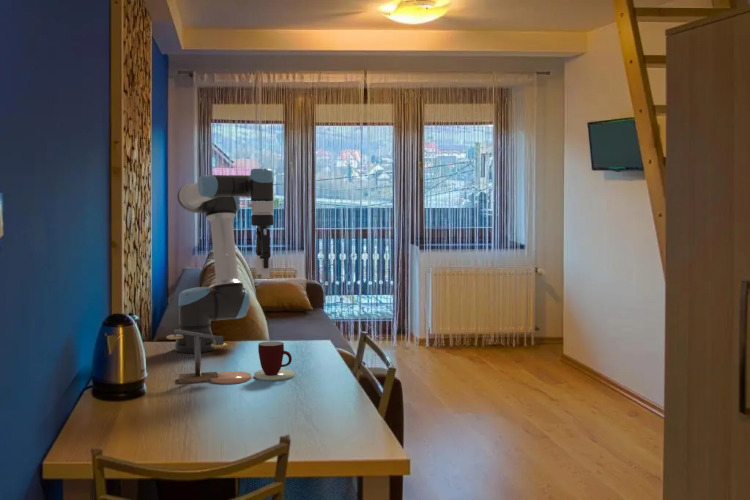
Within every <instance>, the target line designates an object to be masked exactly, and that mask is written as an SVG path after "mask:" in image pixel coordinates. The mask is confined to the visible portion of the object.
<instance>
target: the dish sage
mask: <svg viewBox="0 0 750 500" xmlns="http://www.w3.org/2000/svg"><path fill="white" fill-rule="evenodd" d="M253 374H254V375H253V376H254V379H256V380H259V381H265V382H266V381H267V382H278V381H279V382H280V381H286V380H290V379H293V378H295V376H296V372H295V371H294V370H293V369H287V368H281V369H280V371H279V373H278V374H277V375H273V376H268V375H265V373H264V371H263V370H262V369H260V370H257V371H255V372H254V373H253Z"/></svg>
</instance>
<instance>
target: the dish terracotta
mask: <svg viewBox="0 0 750 500" xmlns="http://www.w3.org/2000/svg"><path fill="white" fill-rule="evenodd" d="M217 374H218V378H210V381H209V382H211V383H213V384H217V383H218V384H219V385H220V384H221V385H234V384H235V385H236V384H241V383H242V382H243V383H247V382H249V381H251V380H252V373H250V372H248V371H238V370H236V371H235V370H234V371H232V370H231V371H221V372H217ZM250 379H251V380H250ZM218 384H217V385H218Z"/></svg>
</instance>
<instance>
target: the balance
mask: <svg viewBox="0 0 750 500" xmlns="http://www.w3.org/2000/svg"><path fill="white" fill-rule="evenodd" d="M178 333H179V334H186V335H192V336H194V344H195V353H194V372H193V373H180V374H178V375H177V376H178V384H189V383H201V382H202V381H205V382H211V381H210V378H218V374H217V373H218V372H217V371H208V372H202V366H201V365H202V363H201V362H202V361H201V359H202V356H201V353H202V352H200V337H205V338H212V339H214V340H215V343H212V344H211V346H212V347H216V348H225V347H227V346H228V343H227V342H224V335H215V334H213V335H209V334H202V333H196V332H189V331H183V330H179V329H174V331H173V334H169V335H167V336H166V340H176V339H181V338H183V335H178ZM202 383H203V382H202Z"/></svg>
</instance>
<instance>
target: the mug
mask: <svg viewBox="0 0 750 500" xmlns="http://www.w3.org/2000/svg"><path fill="white" fill-rule="evenodd" d="M257 347H258V348H257V349H258V350H257V351H258V357H259V362H260V367H261V370H263V371H264V373H265V375H268V376H273V375H277V374H278V373H279V371H280V369H282V368H284V367H288V366H290V364H291V363H292V361H293V357H292V355H291V353H290V352H289V351H287V350H285V343H284V342H283V341H278V340H271V341H261V342H259V343H258V345H257ZM284 355H286V356H287V357H288V361H287V363H284V364H283V359H284Z"/></svg>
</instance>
